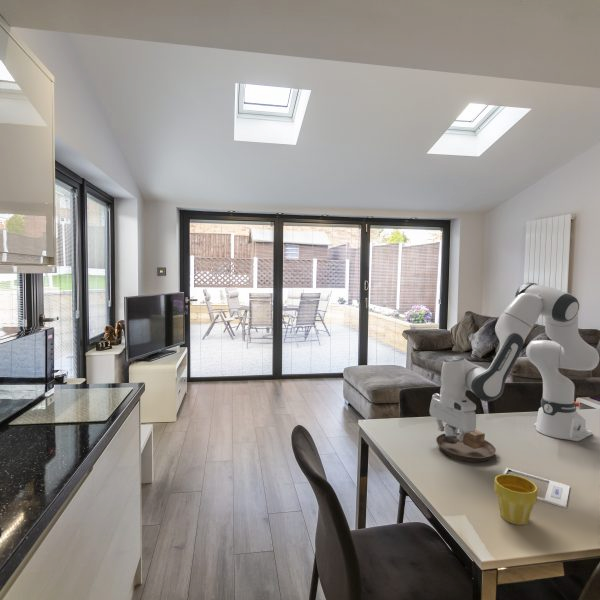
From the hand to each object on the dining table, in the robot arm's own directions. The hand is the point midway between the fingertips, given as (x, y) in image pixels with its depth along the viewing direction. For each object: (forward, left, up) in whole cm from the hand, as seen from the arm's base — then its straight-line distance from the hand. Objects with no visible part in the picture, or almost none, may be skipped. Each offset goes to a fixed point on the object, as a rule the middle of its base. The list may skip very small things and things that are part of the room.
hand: (450, 435), depth 152 cm
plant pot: (+16, +40, -5) cm, 43 cm away
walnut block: (-6, +6, -2) cm, 8 cm away
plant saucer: (-4, +4, -6) cm, 8 cm away
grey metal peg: (0, 0, -2) cm, 2 cm away
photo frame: (-4, +31, -6) cm, 32 cm away
